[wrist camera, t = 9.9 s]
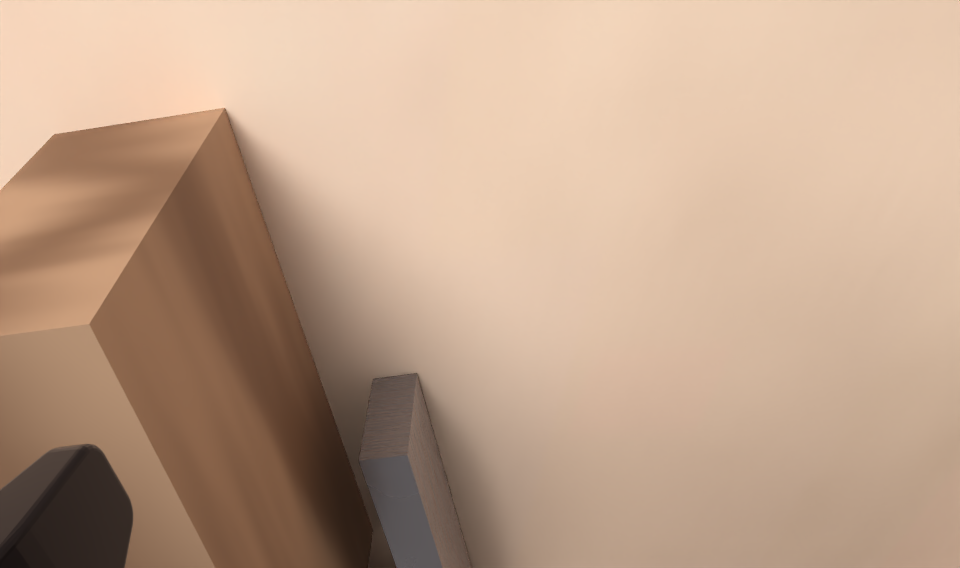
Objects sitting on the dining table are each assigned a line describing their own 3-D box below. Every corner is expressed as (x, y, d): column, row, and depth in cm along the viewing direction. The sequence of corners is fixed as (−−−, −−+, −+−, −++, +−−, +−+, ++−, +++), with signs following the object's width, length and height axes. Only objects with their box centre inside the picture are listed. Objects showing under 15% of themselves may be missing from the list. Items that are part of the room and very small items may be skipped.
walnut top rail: (226, 105, 20) (88, 324, 13) (373, 527, 27) (334, 798, 21) (56, 132, 20) (-161, 356, 13) (248, 540, 28) (172, 809, 21)
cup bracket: (416, 373, 24) (405, 467, 21) (477, 589, 29) (475, 688, 26) (86, 415, 25) (33, 510, 22) (201, 616, 30) (170, 714, 27)
